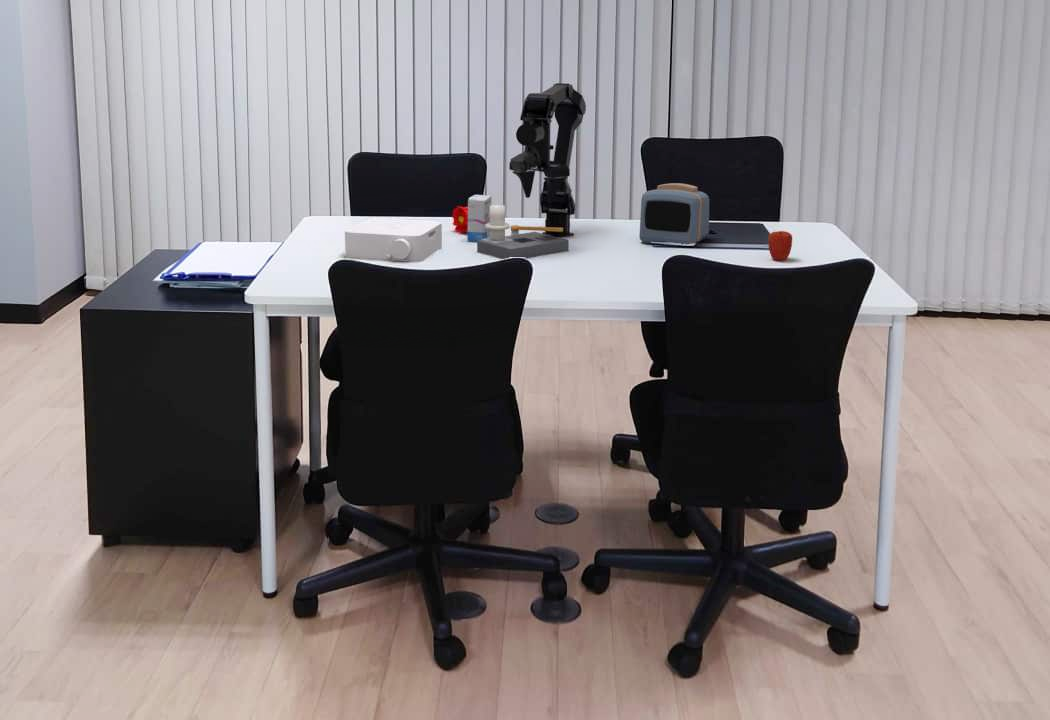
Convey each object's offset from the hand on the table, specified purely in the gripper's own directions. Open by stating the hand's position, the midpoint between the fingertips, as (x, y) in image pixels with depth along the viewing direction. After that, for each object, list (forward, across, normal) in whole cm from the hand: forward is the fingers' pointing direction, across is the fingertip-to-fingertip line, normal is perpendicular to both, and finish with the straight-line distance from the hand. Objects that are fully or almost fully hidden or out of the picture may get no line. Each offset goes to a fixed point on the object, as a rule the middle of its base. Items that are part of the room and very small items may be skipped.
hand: (538, 199), depth 366 cm
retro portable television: (+13, +18, +34) cm, 41 cm away
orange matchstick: (+8, +1, -1) cm, 8 cm away
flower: (+13, -27, -3) cm, 30 cm away
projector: (+13, -18, -35) cm, 41 cm away
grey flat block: (+12, +3, -8) cm, 15 cm away
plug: (+9, -1, -14) cm, 16 cm away
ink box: (+13, -17, -7) cm, 22 cm away
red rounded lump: (+13, +52, +38) cm, 66 cm away
